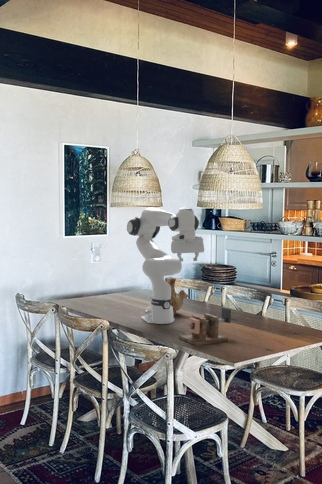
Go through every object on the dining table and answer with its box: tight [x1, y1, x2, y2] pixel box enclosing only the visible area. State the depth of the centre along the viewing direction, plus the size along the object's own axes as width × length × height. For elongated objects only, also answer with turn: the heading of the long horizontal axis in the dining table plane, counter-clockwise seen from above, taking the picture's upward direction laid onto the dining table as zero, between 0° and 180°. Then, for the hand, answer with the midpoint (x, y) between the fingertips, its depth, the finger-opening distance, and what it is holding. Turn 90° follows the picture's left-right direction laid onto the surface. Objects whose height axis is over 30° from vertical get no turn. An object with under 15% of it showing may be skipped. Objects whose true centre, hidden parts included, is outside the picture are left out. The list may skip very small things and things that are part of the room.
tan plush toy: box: [164, 276, 190, 316], centre depth 337 cm, size 18×19×25 cm
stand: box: [178, 313, 229, 346], centre depth 276 cm, size 16×20×12 cm
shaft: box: [187, 306, 232, 328], centre depth 277 cm, size 6×25×8 cm, turn 121°
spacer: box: [188, 317, 200, 334], centre depth 273 cm, size 7×2×7 cm, turn 31°
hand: (188, 261), depth 291 cm, fingers open, 8 cm apart
